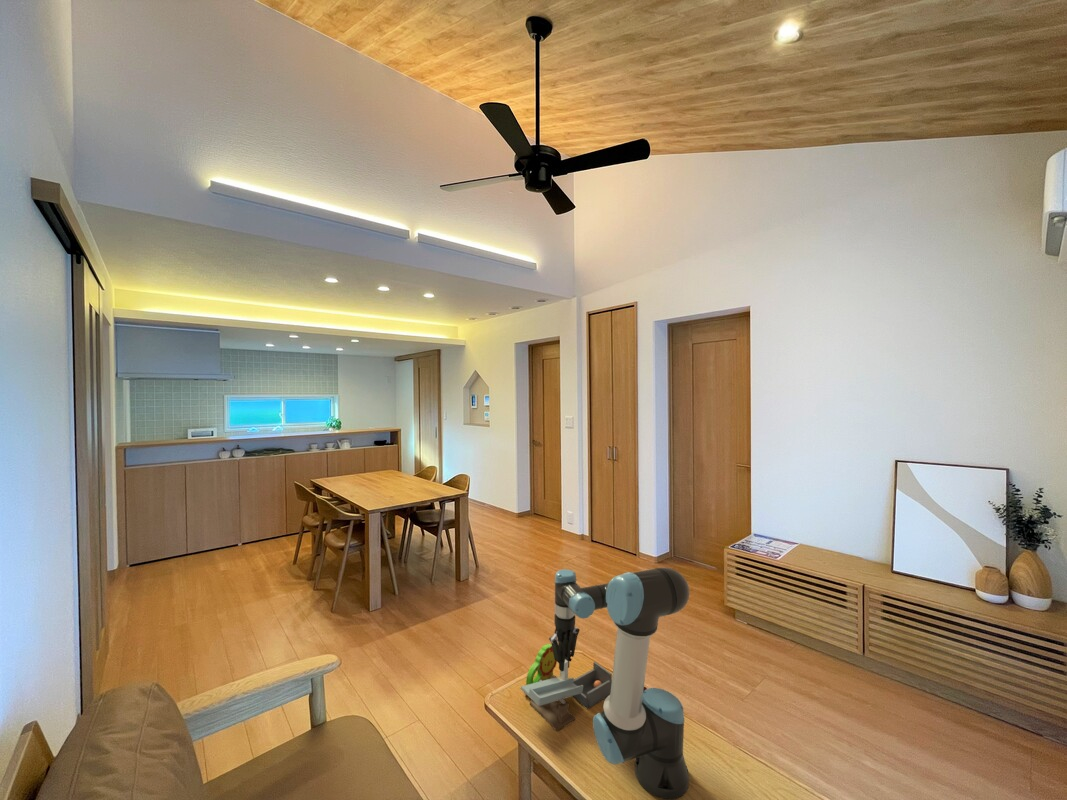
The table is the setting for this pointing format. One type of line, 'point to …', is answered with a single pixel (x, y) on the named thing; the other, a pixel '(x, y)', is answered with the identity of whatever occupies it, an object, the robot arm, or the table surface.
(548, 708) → the stand
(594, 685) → the ball
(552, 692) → the lever
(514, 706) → the table surface
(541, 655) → the toy lion
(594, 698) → the pulled-out tray drawer
